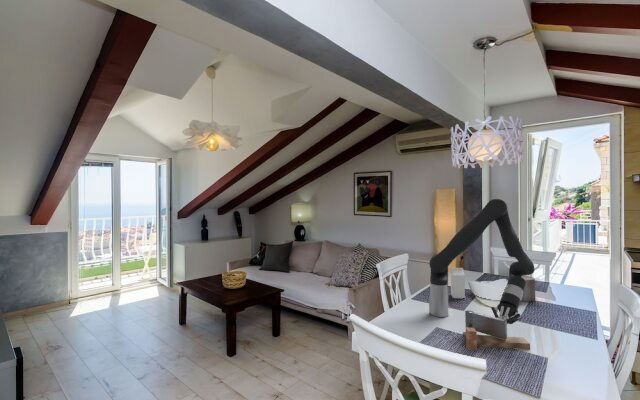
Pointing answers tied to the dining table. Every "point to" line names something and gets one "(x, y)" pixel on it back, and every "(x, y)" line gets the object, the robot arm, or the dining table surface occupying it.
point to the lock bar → (486, 324)
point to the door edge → (493, 341)
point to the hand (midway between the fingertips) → (500, 329)
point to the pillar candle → (529, 289)
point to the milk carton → (457, 283)
